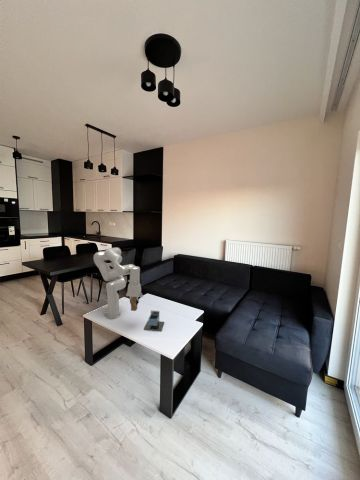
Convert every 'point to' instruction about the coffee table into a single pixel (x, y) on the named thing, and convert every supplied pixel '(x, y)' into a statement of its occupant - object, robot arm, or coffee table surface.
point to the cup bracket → (154, 322)
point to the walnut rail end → (133, 304)
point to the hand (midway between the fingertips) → (134, 303)
